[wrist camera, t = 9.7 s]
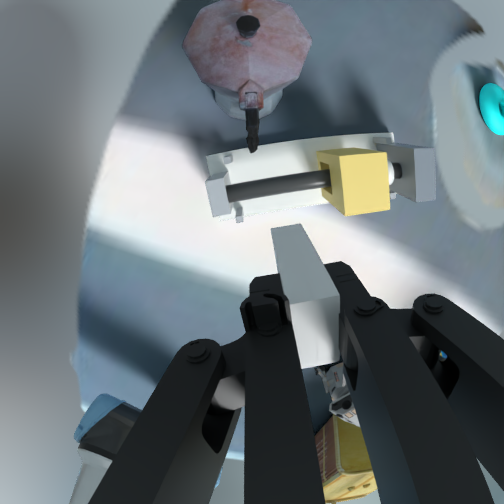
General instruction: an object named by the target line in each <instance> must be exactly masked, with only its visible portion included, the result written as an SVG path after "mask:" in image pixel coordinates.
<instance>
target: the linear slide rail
mask: <svg viewBox="0 0 504 504" xmlns="http://www.w3.org/2000/svg"><path fill="white" fill-rule="evenodd" d="M351 147H355V148H362V149H369V150H376V151H382V152H387V163H388V176H389V193H390V199H396V194H399V195H402V196H404V197H406V198H408V199H410V200H412V201H414V202H423V201H431V200H436V176H435V155H434V148H430V147H423V146H415V145H407V144H399V143H394V137H393V133H367V134H351V135H338V136H327V137H318V138H309V139H300V140H293V141H285V142H279V143H272V144H266V145H260V146H258V147H257V148H258V149H257V150H256V151H255V152H254V153H250V151H249V149H248V148H243V149H237V150H232V151H227V152H222V153H217V154H213V155H208V156H206V160H207V165H208V170H209V174H210V177H209V178H208V179H207V180H206V181H205V184H206V189H207V193H208V198H209V202H210V206H211V211H212V215H213V217H216V216H219V220H220V221H224V220H229V219H235V218H236V223H240V222H243V218H244V217H246V216H252V215H257V214H263V213H269V212H275V211H281V210H287V209H293V208H299V207H306V206H312V205H319V204H326V203H329V202H328V201H327V200H326V199H325V198H324V197H322V192H321V188H325V187H332V185H331V177H330V169H325V170H319V169H318V161H317V155H316V151H321V150H330V149H340V148H351Z"/></svg>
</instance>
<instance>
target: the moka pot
mask: <svg viewBox="0 0 504 504" xmlns="http://www.w3.org/2000/svg"><path fill="white" fill-rule="evenodd" d="M311 44H312V38H311V36H310V35H309V33H308V32H307V30H306V28H305V27H304V25H303V24H302V22H301V21H300V19H299V17H298V16H297V14H296V13H295V11H294V9H293V8H292V7H291V6H290V5H288V4H285V3H282V2H279V1H276V0H221V1H218V2H215V3H212V4H210V5H208V6H205V7H203V8H201V10H200V11H199V12H198V14H197V16H196V17H195V19H194V21H193V23H192V25H191V27H190V29H189V31H188V33H187V35H186V37H185V39H184V41H183V45H182V48H183V50H184V51H185V53H186V55H187V56H188V58H189V60H190V62H191V63H192V65H193V67H194V69H195V70H196V72H197V74H198V76H199V78H200V80H201V82H203V83H204V84H206V85H207V86H209V87H210V88H212V89H213V90H214V92H215V101H216V103H217V105H218V106H219V107H220V108H221V109H222V110H223V111H224V112H225V113H226V114H228V115H229V116H230V117H232V118H236V119H241V120H246V130H247V131H248V137H247V138H246V140H247V144H248V149H249V151H250V153H254V152H255V151H256V150H257V149H258V148H257V147H258V144H259V137H258V130H259V119H260V118H263V117H265V116H267V115H269V114H271V113H272V112H273V111H274V109H275V108H276V106H277V105H278V103H279V101H280V100H281V98H282V96H283V90H282V89H283V88H285V87H286V86H288V85H289V84H291V83H292V82H294V81H295V80H296V79H298V78H299V75H300V73H301V70H302V67H303V65H304V62H305V60H306V57H307V54H308V52H309V50H310V47H311Z"/></svg>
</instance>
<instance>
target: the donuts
mask: <svg viewBox="0 0 504 504" xmlns="http://www.w3.org/2000/svg"><path fill="white" fill-rule="evenodd" d="M479 104H480V110H481V114H482V116H483V119H484V121H485V123H486V125H487V126H488V127H489V129H490V130H491V131H492V132H494V133H495V134H498V135H504V90H503V89H502V88H501V87H499V86H498V85H496V84H493V83H488V84H485V85H484V86H483V87H482V89H481V91H480V96H479ZM499 109H500V111H499Z"/></svg>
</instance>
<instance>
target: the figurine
mask: <svg viewBox="0 0 504 504" xmlns="http://www.w3.org/2000/svg"><path fill="white" fill-rule="evenodd" d="M315 371H316V372H315V373H316V375H318V374H319V375H320V376H321V377H322V381H323V385H324V387H325V391H326V393H329V392H330V394H331V398H332V403H330V408H329V411H330V412H332V413H333V414H335V415H336V416H337V417H339V418H341V419H342V420H344V421H346V422H349V423H352V424H354V425H356V426H358V427H360V424H359V421H358V418H357V414H356V411H355V408H354V405H353V402H352V398H351V395H350V392H349V389H348V386H347V383H346V385H345V386H343V387H342V374H343V362H342V363H339V364H337V365H335V366H332V367H331V368H330V369H329V371H328V372H326V370H325V367H324V366H323V367H320V368H318V369H316V368H315Z"/></svg>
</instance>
